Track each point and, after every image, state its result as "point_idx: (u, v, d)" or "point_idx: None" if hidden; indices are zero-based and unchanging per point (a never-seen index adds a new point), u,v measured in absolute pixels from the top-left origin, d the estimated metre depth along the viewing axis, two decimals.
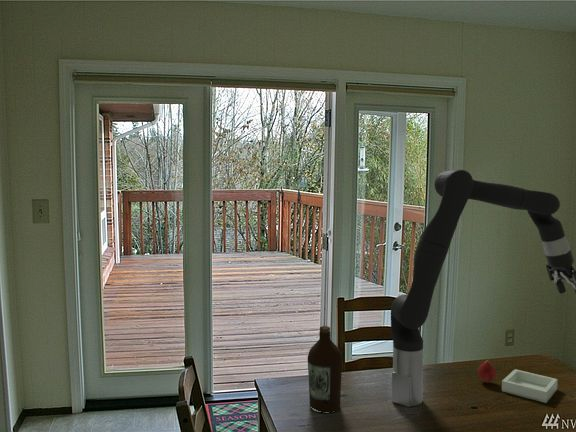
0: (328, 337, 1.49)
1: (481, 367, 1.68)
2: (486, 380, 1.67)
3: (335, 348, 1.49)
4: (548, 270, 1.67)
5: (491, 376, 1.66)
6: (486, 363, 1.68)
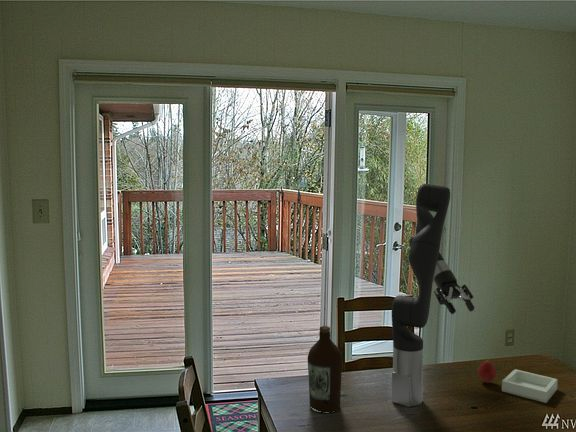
0: (328, 337, 1.49)
1: (481, 367, 1.68)
2: (486, 380, 1.67)
3: (335, 348, 1.49)
4: (440, 292, 1.80)
5: (491, 376, 1.66)
6: (486, 363, 1.68)
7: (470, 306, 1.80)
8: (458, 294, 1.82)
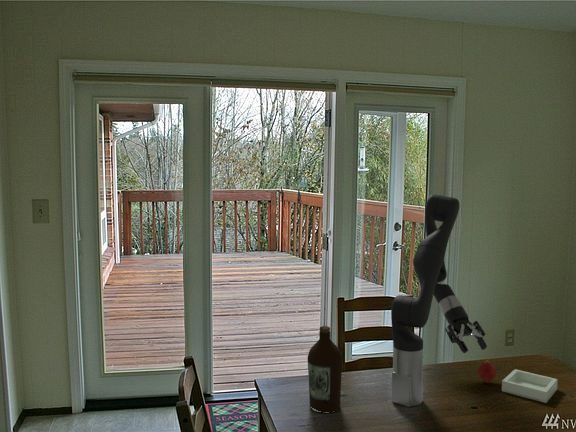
0: (328, 337, 1.49)
1: (481, 367, 1.68)
2: (486, 380, 1.67)
3: (335, 348, 1.49)
4: (451, 329, 1.75)
5: (491, 376, 1.66)
6: (486, 363, 1.68)
7: (482, 344, 1.75)
8: (470, 331, 1.77)
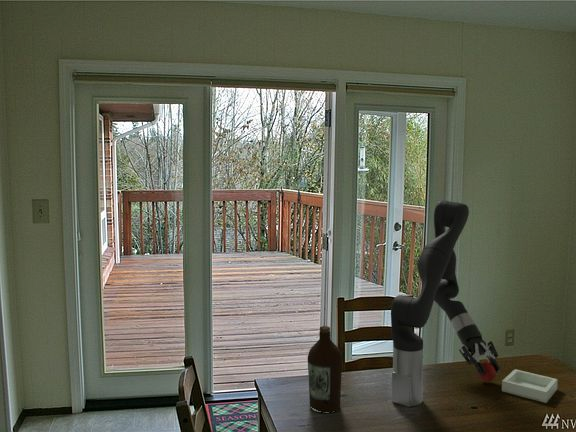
0: (328, 337, 1.49)
1: None
2: (486, 380, 1.67)
3: (335, 348, 1.49)
4: (466, 350, 1.69)
5: (491, 376, 1.66)
6: (486, 363, 1.68)
7: (495, 366, 1.69)
8: (482, 351, 1.71)
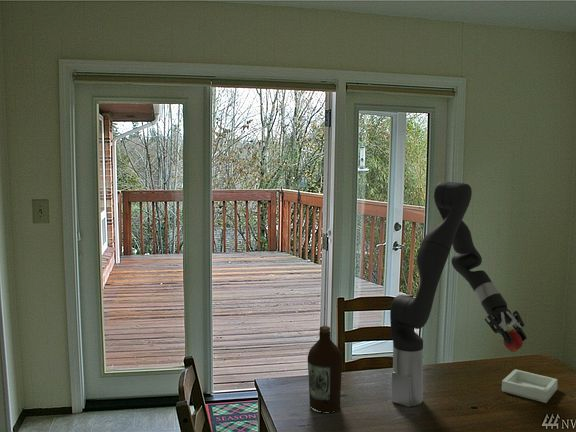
0: (328, 337, 1.49)
1: None
2: (513, 349, 1.63)
3: (335, 348, 1.49)
4: (493, 319, 1.65)
5: (518, 344, 1.62)
6: (513, 332, 1.64)
7: (522, 335, 1.65)
8: (508, 320, 1.67)
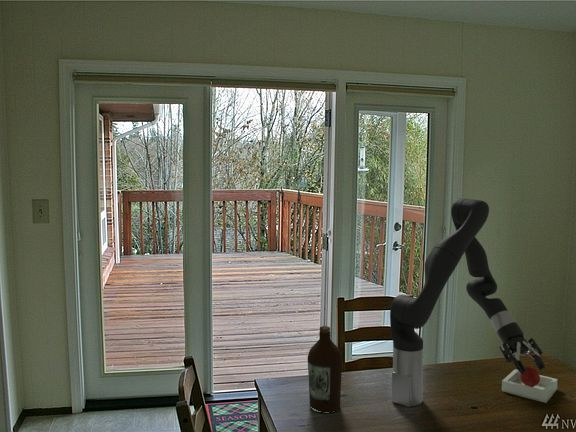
0: (328, 337, 1.49)
1: (525, 372, 1.62)
2: (529, 385, 1.61)
3: (335, 348, 1.49)
4: (507, 348, 1.63)
5: (535, 381, 1.60)
6: (530, 368, 1.62)
7: (540, 364, 1.63)
8: (526, 350, 1.65)
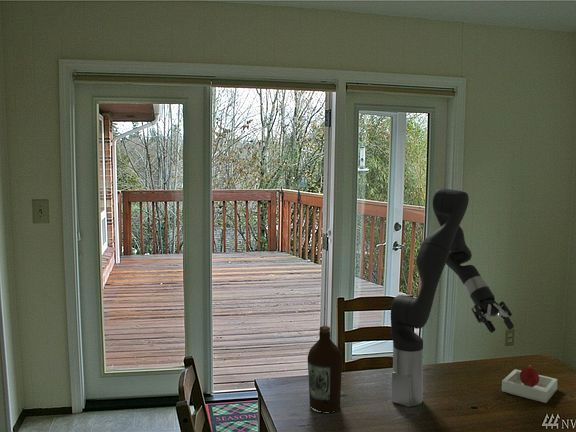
0: (328, 337, 1.49)
1: (524, 372, 1.62)
2: (529, 385, 1.61)
3: (335, 348, 1.49)
4: (478, 309, 1.74)
5: (534, 381, 1.60)
6: (529, 368, 1.62)
7: (509, 324, 1.74)
8: (496, 311, 1.76)
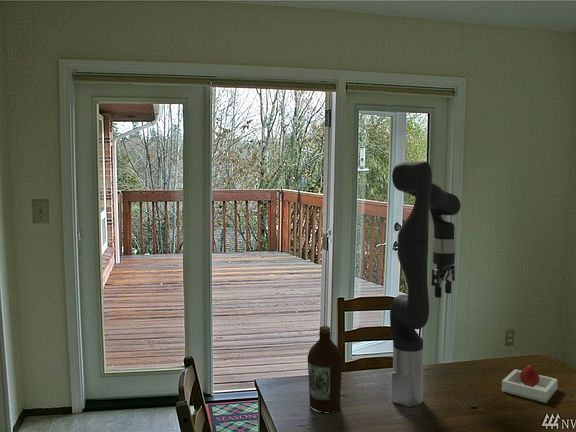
0: (328, 337, 1.49)
1: (524, 372, 1.62)
2: None
3: (335, 348, 1.49)
4: (439, 275, 1.72)
5: (535, 381, 1.60)
6: (529, 368, 1.62)
7: (449, 289, 1.80)
8: (447, 277, 1.78)
